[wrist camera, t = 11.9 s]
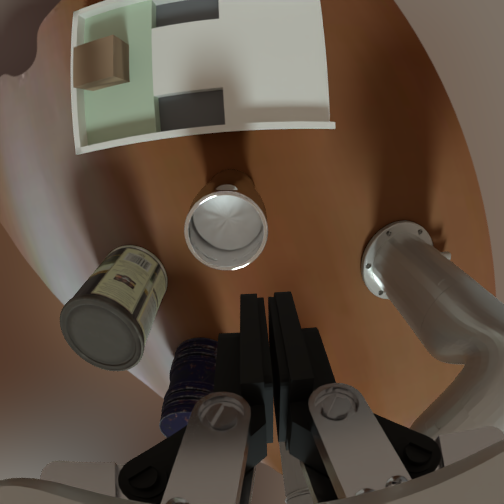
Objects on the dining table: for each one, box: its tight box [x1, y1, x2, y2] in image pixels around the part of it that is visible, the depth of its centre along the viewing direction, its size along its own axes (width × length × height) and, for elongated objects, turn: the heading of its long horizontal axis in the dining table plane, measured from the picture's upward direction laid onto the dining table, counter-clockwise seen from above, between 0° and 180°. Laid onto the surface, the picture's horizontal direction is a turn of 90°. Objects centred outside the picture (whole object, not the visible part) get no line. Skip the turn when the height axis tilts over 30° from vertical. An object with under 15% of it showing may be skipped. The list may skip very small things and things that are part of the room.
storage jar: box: [159, 338, 218, 438], centre depth 41 cm, size 10×10×15 cm
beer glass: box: [184, 169, 268, 270], centre depth 30 cm, size 7×7×15 cm
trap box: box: [71, 0, 335, 155], centre depth 28 cm, size 30×20×4 cm, turn 93°
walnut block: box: [73, 35, 130, 91], centre depth 25 cm, size 5×5×5 cm
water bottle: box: [279, 442, 314, 504], centre depth 43 cm, size 9×8×25 cm
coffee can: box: [60, 245, 167, 371], centre depth 35 cm, size 10×10×14 cm
